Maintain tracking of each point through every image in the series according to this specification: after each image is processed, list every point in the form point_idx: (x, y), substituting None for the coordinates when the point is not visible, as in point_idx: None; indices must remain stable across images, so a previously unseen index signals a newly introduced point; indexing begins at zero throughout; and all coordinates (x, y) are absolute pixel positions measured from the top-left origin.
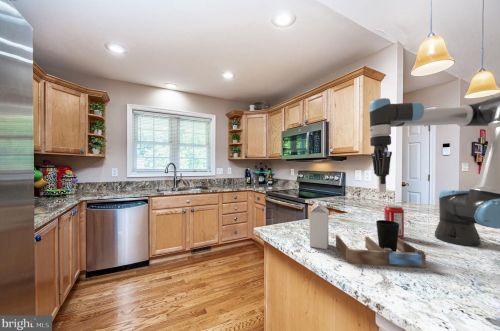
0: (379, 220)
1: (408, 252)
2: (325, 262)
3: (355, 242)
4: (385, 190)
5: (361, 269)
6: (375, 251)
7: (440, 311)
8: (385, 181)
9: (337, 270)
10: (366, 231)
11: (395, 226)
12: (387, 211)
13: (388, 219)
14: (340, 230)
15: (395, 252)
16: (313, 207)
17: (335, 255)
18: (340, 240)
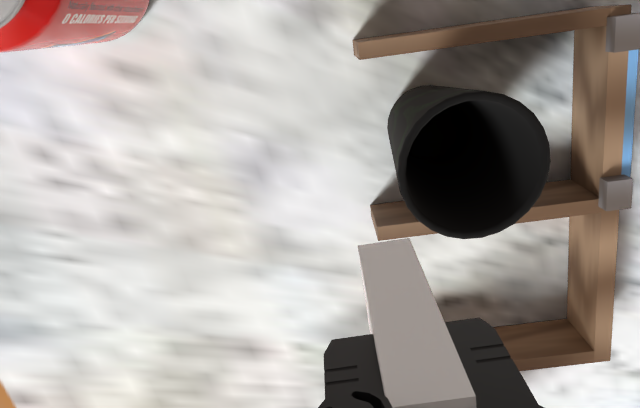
0: (415, 207)
1: (609, 87)
2: (586, 400)
3: (305, 252)
4: (415, 255)
5: (634, 286)
6: (612, 246)
7: None
8: (503, 347)
9: None
10: (42, 141)
11: (542, 135)
12: (41, 38)
13: (84, 31)
14: (94, 299)
15: (616, 155)
16: None
17: None
18: None
